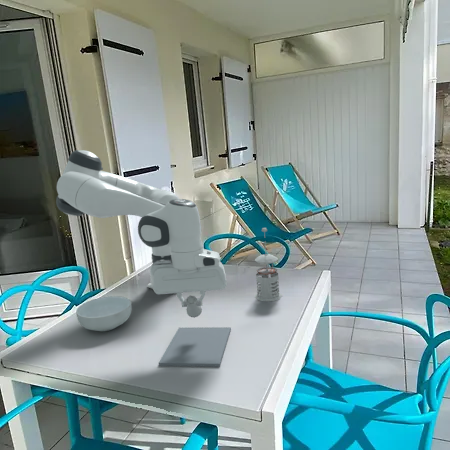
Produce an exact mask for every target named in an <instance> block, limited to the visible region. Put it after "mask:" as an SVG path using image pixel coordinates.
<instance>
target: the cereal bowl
mask: <svg viewBox="0 0 450 450" xmlns="http://www.w3.org/2000/svg"><path fill="white" fill-rule="evenodd" d="M132 308H133V307H132V301H131V299H129V298H128V297H124V296H118V295H112V296H111V295H110V296H109V295H107V296H102V297H98V298H94V299H91V300H89V301H86V302H84V303H82V304H81V305H80V306H78V308H77V309H76V312H75V313H76V318H77V321H78V323H79V324H80V325H81V326H82V327H83V328H84V329H86V330H89V331H96V332H108V331H111V330H114V329H116V328H117V327H120V326H122V325H123V324H124V323H125V322H126V321H127V320H128V319H129V318H130V316H131V314H132Z"/></svg>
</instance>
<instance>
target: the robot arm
mask: <svg viewBox="0 0 450 450" xmlns="http://www.w3.org/2000/svg"><path fill="white" fill-rule="evenodd" d="M67 160H68V161H67V163H66V165H65V167H64V170H63V173H62V175H61V176H59V178H58V180H57V182H56V191H57V194H58V195H57V196H56V201H55V203H56V207H57V209H58V210H59V211H60V212H63V214H65V215H68V216H72V217H73V216H74V217H77V216H78V217H81V216H83V215H84V214H85V215H87V216H91V217H95V218H100V219H104V218H112V217H119V216H137V217H140V219H139V222H138V223H137V233H138V236H139V239H140V240H141V242H142V243H143V244H144V245H145V246H147V247H149V248H151V252H152V253H151V262H152V264H151V266H150V267H149V276H150V282H149V283H148V284H147V288H148V289H149V288H150V289H152V290H153V292H154V294H156V295H166V294H176V298H178V299H179V301H180V302H181V308H187V306H188V305H187V304H186V299H187V298H184V296H183V294H184V293H191V292H192V293H196V292H199V295H200V297H196V298H197V306H201V307H202V306H204V305H203V304H204V303H203V299H204V298H205V295H206V292H207V291H220V290H221V291H222V290H225V289H226V288H227V285H228V283H227V275H226V271H225V266H224V265H223V263H222V262H221V256H220V253H219V252H218V251H213V250H209V249H204V246H203V245H204V244H203V241H202V239H201V238H202V224H201V222H202V221H201V217H200V212H199V208H198V205H197V204H196V203H195V201H192V200H190V199H183V198H179V196H178V195H177V194H176V193H174V192H173V191H170V190H166V189H161V188H158V187H155V186H152V185H149V184H146V183H143V182H140V181H137V180H134V179H132V178H127V177H124V176H122V175H118V174H115V173H112V172H108V171H104V167H103V165H102V164H103V163H102V161H101V158H100V157H99V156H97V155H96V154H95V153H93V152H91V151H89V150H83V149H80V150H79V149H75V150H74V151H72V152H71V153H70V155H69V156H68V158H67Z"/></svg>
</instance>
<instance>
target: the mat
mask: <svg viewBox="0 0 450 450" xmlns="http://www.w3.org/2000/svg"><path fill="white" fill-rule="evenodd" d="M231 331H232V327H229V326H227V327H224V326H222V327H218V326H217V327H215V326H213V327H207V326H206V327H205V326H204V327H178V329H177V330H176V332H175V334H174V336H173V337H172V339H171V341H170V343H169V344H168V346H167V347H166V349H165V352H164V353H163V355H162V356H161V358H160V360H159V362H158V367H212V368H213V367H215V368H217V367H219V368H220V367H221V364H222V362H223V358H224V354H225V351H226V348H227V345H228V341H229V338H230V334H231Z"/></svg>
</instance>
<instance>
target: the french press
mask: <svg viewBox="0 0 450 450" xmlns="http://www.w3.org/2000/svg"><path fill="white" fill-rule="evenodd" d="M261 232H263V233H264V237H266V232H268V229H267V227H262V228H261ZM266 243H267V242H264V248H265V254H261V255H259V256H257V257H256V258H255V259H254V261H255V262H256V263H257V264H262V265H266V266H263V267H259V268H258V269H256V276H255V279H256V289H257V291H256V294H255V296H254V298H255V299H256V300H258V301H260V302H274V301H278V300H280V299H282V297H283V294H282V293H281V292H280V285H279V284H280V281H279V273H278V269H277V268H276V267H274V263H276V262H278V260H279V258H278V257H277V256H275V255H273V254H271V253H270V254H269V253H268V254H267V247H266ZM269 264H271V266H269ZM269 275H270V277H269ZM260 276H261V277H260Z"/></svg>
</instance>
